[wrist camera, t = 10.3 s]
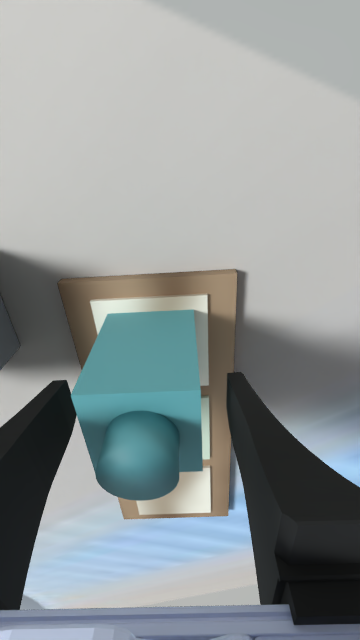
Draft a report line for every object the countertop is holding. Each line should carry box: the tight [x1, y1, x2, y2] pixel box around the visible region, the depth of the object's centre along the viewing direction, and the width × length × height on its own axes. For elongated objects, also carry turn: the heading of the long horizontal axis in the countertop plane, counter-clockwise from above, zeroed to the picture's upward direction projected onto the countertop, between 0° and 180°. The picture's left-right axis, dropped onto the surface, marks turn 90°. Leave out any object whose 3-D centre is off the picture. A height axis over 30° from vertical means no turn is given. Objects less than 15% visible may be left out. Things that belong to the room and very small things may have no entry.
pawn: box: [71, 309, 203, 501], centre depth 13 cm, size 4×4×8 cm
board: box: [57, 269, 237, 519], centre depth 20 cm, size 9×22×1 cm, turn 3°
